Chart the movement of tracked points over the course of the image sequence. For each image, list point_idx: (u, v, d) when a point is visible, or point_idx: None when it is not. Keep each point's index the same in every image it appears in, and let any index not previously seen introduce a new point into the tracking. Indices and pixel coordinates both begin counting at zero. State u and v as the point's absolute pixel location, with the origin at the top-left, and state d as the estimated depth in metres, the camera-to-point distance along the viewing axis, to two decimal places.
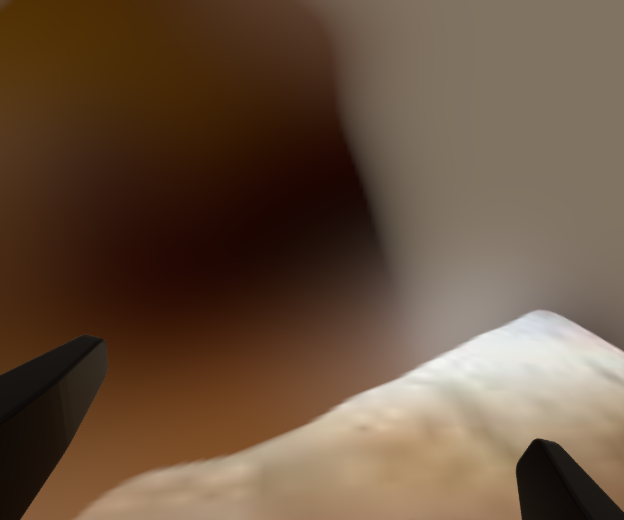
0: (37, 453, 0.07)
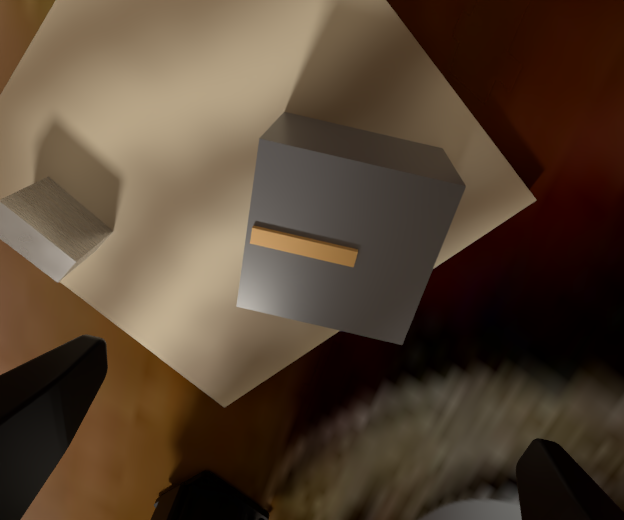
0: (37, 453, 0.07)
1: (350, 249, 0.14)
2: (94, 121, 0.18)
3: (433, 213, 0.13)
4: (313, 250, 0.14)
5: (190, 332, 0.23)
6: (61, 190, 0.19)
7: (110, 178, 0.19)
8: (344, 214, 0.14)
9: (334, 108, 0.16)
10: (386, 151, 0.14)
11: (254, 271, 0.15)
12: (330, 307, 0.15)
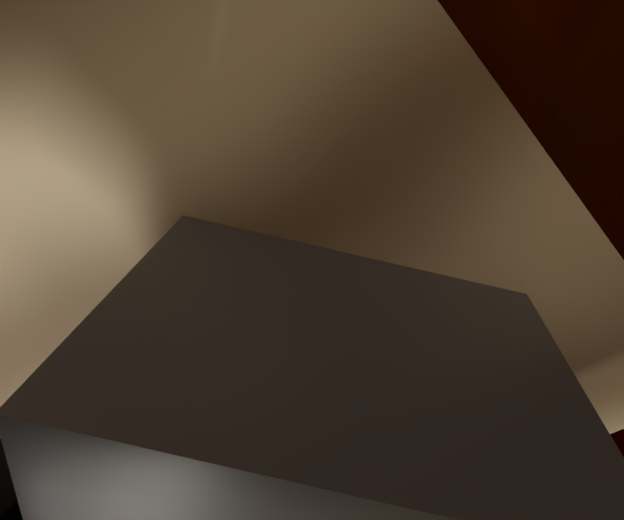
0: None
1: None
2: None
3: None
4: None
5: None
6: None
7: None
8: None
9: (290, 211, 0.07)
10: (411, 361, 0.06)
11: None
12: None
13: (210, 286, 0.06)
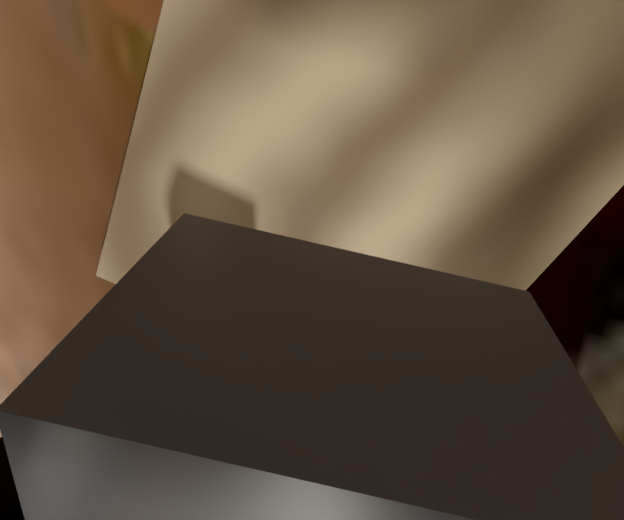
0: None
1: None
2: (214, 154, 0.17)
3: None
4: None
5: None
6: None
7: (242, 206, 0.18)
8: None
9: (463, 37, 0.14)
10: (414, 358, 0.05)
11: None
12: None
13: (211, 283, 0.06)
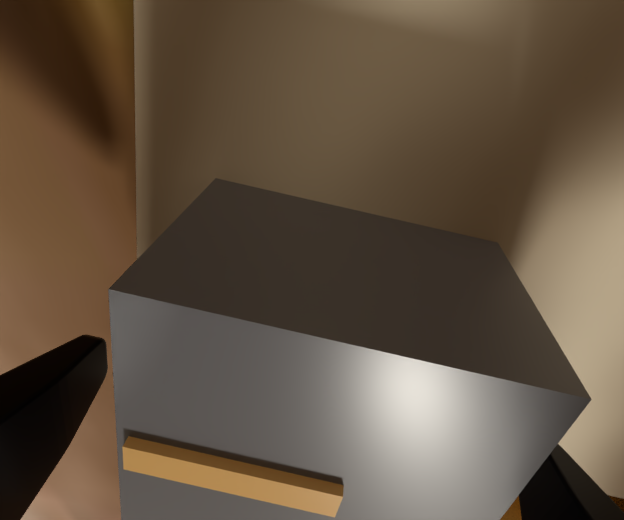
0: (37, 453, 0.07)
1: (327, 488, 0.07)
2: (295, 134, 0.09)
3: (508, 440, 0.06)
4: (251, 488, 0.07)
5: (605, 420, 0.12)
6: None
7: None
8: (313, 430, 0.06)
9: None
10: (400, 278, 0.07)
11: (145, 501, 0.08)
12: None
13: (244, 225, 0.08)
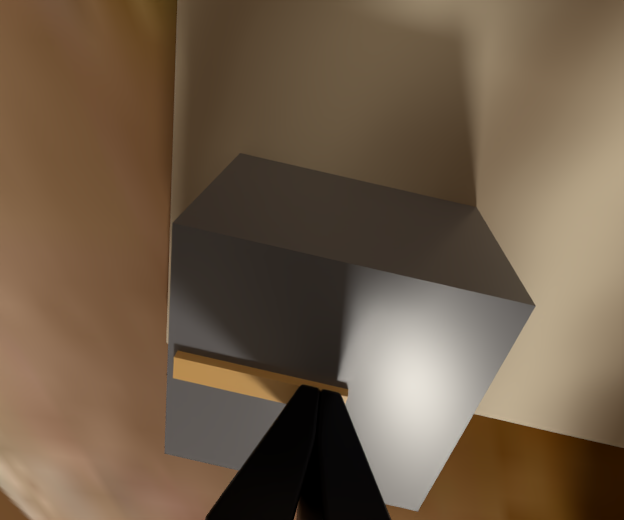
0: None
1: (335, 391, 0.09)
2: (307, 115, 0.11)
3: (475, 344, 0.08)
4: (275, 391, 0.09)
5: (573, 366, 0.13)
6: None
7: None
8: (325, 340, 0.08)
9: None
10: (394, 227, 0.09)
11: (186, 411, 0.10)
12: None
13: (267, 187, 0.10)
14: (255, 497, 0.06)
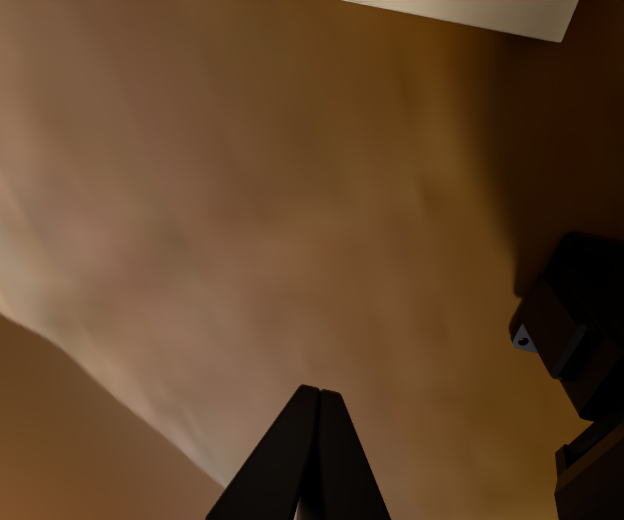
0: None
1: None
2: None
3: None
4: None
5: None
6: None
7: None
8: None
9: None
10: None
11: None
12: None
13: None
14: (255, 497, 0.06)
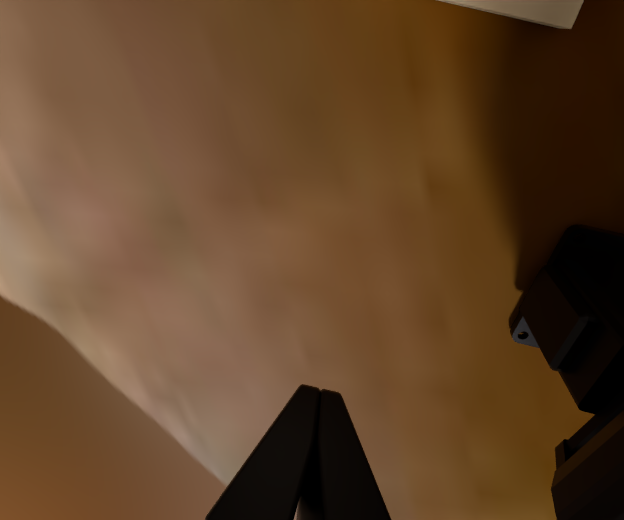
0: None
1: None
2: None
3: None
4: None
5: None
6: None
7: None
8: None
9: None
10: None
11: None
12: None
13: None
14: (255, 497, 0.06)
